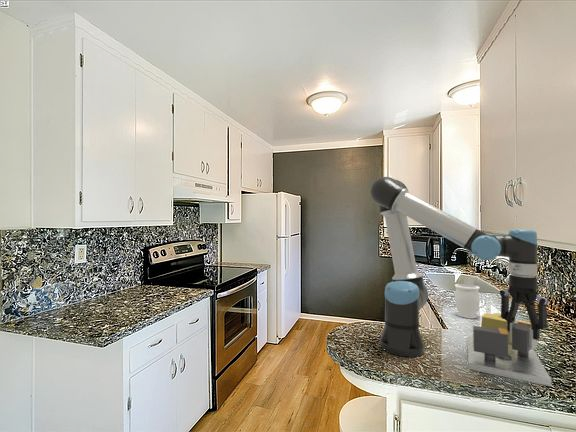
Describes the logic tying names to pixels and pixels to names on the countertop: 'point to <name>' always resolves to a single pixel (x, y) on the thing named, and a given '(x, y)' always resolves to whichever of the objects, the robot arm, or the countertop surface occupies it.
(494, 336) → the knob
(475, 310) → the jar
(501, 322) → the cheese
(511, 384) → the countertop surface
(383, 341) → the robot arm
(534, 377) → the level plate
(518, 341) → the orange-capped gray block
